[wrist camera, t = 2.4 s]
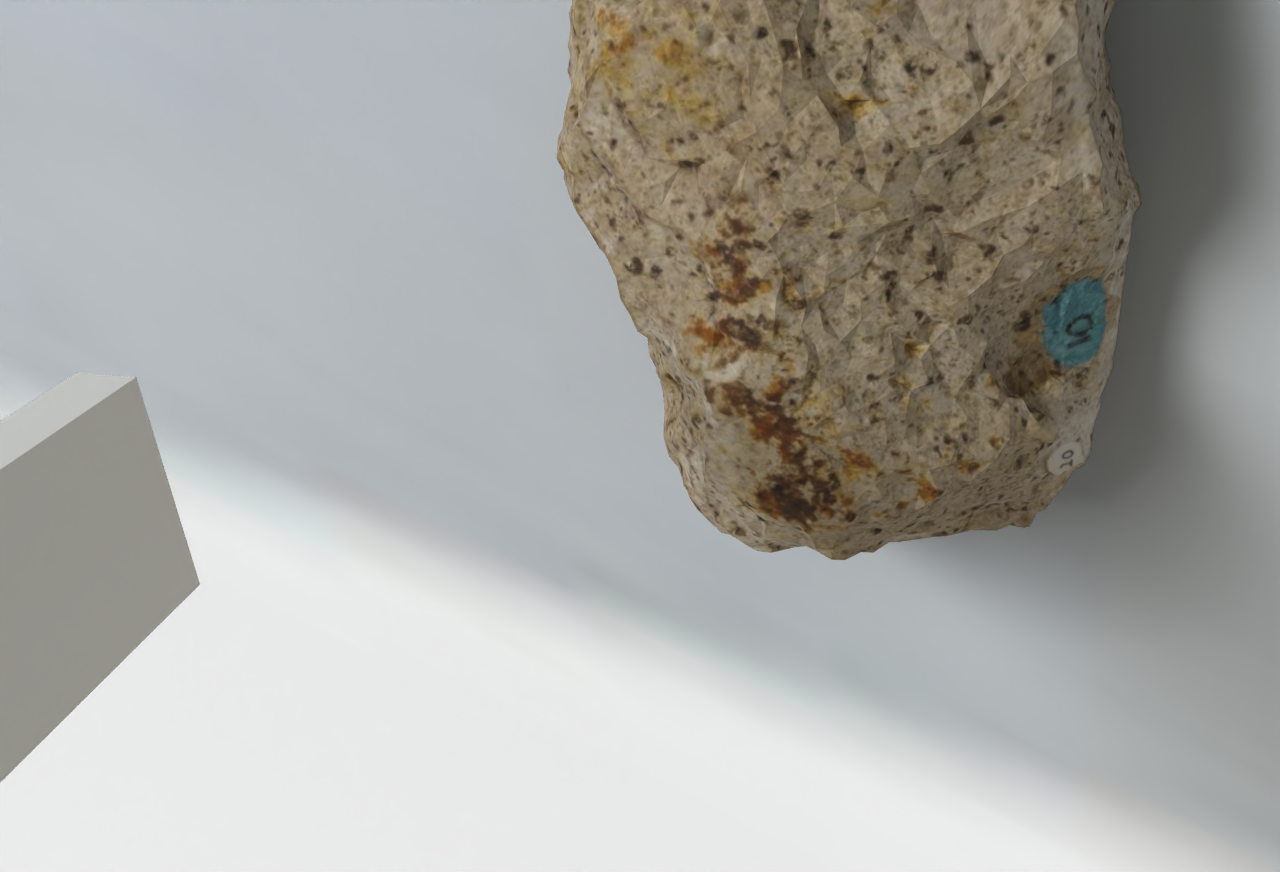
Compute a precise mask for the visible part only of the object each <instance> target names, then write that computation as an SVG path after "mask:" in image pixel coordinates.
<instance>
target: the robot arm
mask: <svg viewBox="0 0 1280 872" xmlns="http://www.w3.org/2000/svg"><path fill="white" fill-rule="evenodd" d="M199 585H200V583H199V580H198V577H197V573H196V570H195V567H194V564H193V560H192V557H191V554H190V551H189V547H188V544H187V541H186V538H185V534H184V531H183V528H182V525H181V521H180V518H179V515H178V512H177V508H176V505H175V502H174V499H173V495H172V492H171V489H170V486H169V482H168V479H167V476H166V473H165V469H164V466H163V463H162V460H161V456H160V453H159V450H158V447H157V443H156V440H155V437H154V434H153V430H152V427H151V424H150V421H149V417H148V414H147V411H146V408H145V404H144V401H143V398H142V395H141V391H140V388H139V385H138V382H137V378H136V377H127V376H114V375H102V374H89V373H76V374H74V375H73V376H71V377H69V378H68V379H66V380H65V381H63V382H61V383H60V384H58V385H57V386H55V387H54V388H52V389H50V390H49V391H47V392H46V393H44V394H42V395H41V396H39V397H38V398H36V399H35V400H33V401H31V402H30V403H28V404H27V405H25V406H23V407H22V408H20V409H19V410H17V411H16V412H14V413H12V414H11V415H9V416H8V417H6V418H4V419H3V420H1V421H0V782H1V781H2V780H3V779H4V778H5V777H6V776H7V775H8V774H9V773H10V772H11V771H12V770H13V769H14V768H15V767H16V766H17V765H18V764H19V763H20V762H21V761H22V760H23V759H24V758H25V757H26V756H27V755H28V754H29V753H30V752H31V751H32V750H33V749H34V748H35V747H36V746H37V745H38V744H39V743H40V742H41V741H42V740H44V739H45V738H46V737H47V736H48V735H49V734H50V733H51V732H52V731H53V730H54V729H55V728H56V727H57V726H58V725H59V724H60V723H61V722H62V721H63V720H64V719H65V718H66V717H67V716H68V715H69V714H70V713H71V712H72V711H73V710H74V709H75V708H76V707H77V706H78V705H79V704H80V703H81V702H82V701H83V700H84V699H85V698H86V697H87V696H88V695H89V694H90V693H91V692H92V691H93V690H94V689H95V688H96V687H97V686H98V685H99V684H100V683H101V682H102V681H103V680H104V679H105V678H106V677H107V676H108V675H109V674H110V673H111V672H112V671H113V670H114V669H115V668H116V667H117V666H118V665H119V664H120V663H121V662H122V661H123V660H124V659H125V658H126V657H127V656H128V655H129V654H130V653H131V652H132V651H133V650H134V649H135V648H136V647H137V646H138V645H139V644H140V643H141V642H142V641H143V640H144V639H145V638H146V637H147V636H148V635H149V634H150V633H151V632H152V631H153V630H154V629H155V628H156V627H157V626H158V625H159V624H160V623H161V622H162V621H163V620H164V619H165V618H166V617H167V616H168V615H169V614H170V613H171V612H172V611H173V610H174V609H175V608H176V607H177V606H179V605H180V604H181V603H182V602H183V601H184V600H185V599H186V598H187V597H188V596H189V595H190V594H191V593H192V592H193V591H194V590H195V589H196V588H197V587H198V586H199Z"/></svg>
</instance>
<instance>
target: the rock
mask: <svg viewBox="0 0 1280 872" xmlns="http://www.w3.org/2000/svg"><path fill="white" fill-rule="evenodd" d="M1115 4H1116V0H572V6H571V9H570V12H569V14H570V25H571V27H570V36H569V45H568V48H569V52H570V61H569V67H568V73H569V77H570V81H571V85H572V86H571V90H570V94H569V98H568V102H567V106H566V110H565V116H564V122H563V129H562V131H561V133H560V135H559V137H558V147H557V160H558V161H559V163H560V165H561V167H562V169H563V170H564V180H565V183H566V186H567V189H568V193H569V195H570V198H571V200H572V202H573V205H574V207H575V209H576V211H577V213H578V215H579V216H580V218H581V219H582V221H583V222H584V224H585V225H586V227H587V228H588V230H589V231H590V233H591V234H592V236H593V238H594V239H595V241H596V243H597V245H598V246H599V248H600V249H601V250H602V251H603V253H604V254H605V255H606V257H607V259H608V261H609V263H610V265H611V267H612V270H613V272H614V274H615V276H616V279H617V284H618V289H619V293H620V298H621V300H622V302H623V304H624V305H625V307H626V309H627V310H628V312H629V314H630V316H631V318H632V320H633V322H634V324H635V326H636V329H637V331H638V332H640V333H641V334H643V335H644V336H646V337H647V338H649V339H648V345H649V353H650V357H651V359H652V361H653V363H654V365H655V366H656V372H657V374H658V377H659V379H660V381H661V385H662V389H663V397H664V409H665V416H664V440H665V443H666V447H667V450H668V454H669V457H670V458H671V459H672V460H673V461H674V463H675V464H676V465H677V466H678V468H679V470H680V473H681V476H682V478H683V483H684V486H685V487H686V489H687V491H688V494H689V496H690V499H691V500H692V502H693V503H694V505H695V506H696V507H697V509H698V510H699V511H700V512H701V513H702V514H703V515H704V516H705V517H706V518H707V519H708V520H709V521H710V522H711V523H712V524H713V525H714V526H715V527H716V528H717V529H718V530H719V531H720V532H721V533H725V534H730V535H732V536H733V537H735V538H736V539H738V540H739V541H741V542H743V543H744V544H746V545H748V546H749V547H751V548H753V549H755V550H757V551H763V552H776V551H780V550H784V549H789V548H793V547H800V546H807V547H809V548H812V549H814V550H816V551H818V552H820V553H821V554H823V555H825V556H826V557H828V558H829V559H832V560H846V559H848V558H850V557H852V556H854V555H856V554H858V553H860V552H875V551H876V550H878V549H879V548H881V547H882V546H884V545H885V544H887V543H888V542H900V541H907V540H914V539H921V538H928V537H935V536H948V535H952V534H956V533H960V532H964V531H969V530H998V529H1001V528H1003V527H1006V526H1009V525H1014V526H1019V527H1024V528H1025V527H1029V526H1030V524H1031V522H1032V520H1033V518H1034V517H1035V515H1036V513H1037V512H1039V511H1041V510H1043V509H1045V508H1046V507H1047V506H1048V504H1049V503H1050V502H1051V500H1052V499H1053V498H1054V497H1055V496H1056V495H1057V493H1058V492H1059V491H1060V490H1061V489H1062V488H1063V486H1064V485H1065V483H1066V481H1067V480H1068V478H1069V477H1070V475H1071V474H1072V472H1073V470H1074V469H1075V468H1078V467H1081V466H1084V464H1085V462H1086V460H1087V458H1088V457H1089V455H1090V453H1091V450H1092V434H1093V426H1094V423H1095V420H1096V418H1097V415H1098V413H1099V410H1100V408H1101V394H1102V392H1103V389H1104V387H1105V384H1106V382H1107V380H1108V377H1109V375H1110V373H1111V371H1112V368H1113V357H1114V352H1115V346H1116V341H1117V335H1118V327H1119V319H1120V311H1121V302H1122V292H1123V285H1124V279H1125V274H1126V258H1127V255H1128V251H1129V245H1130V237H1131V226H1132V221H1133V216H1134V213H1135V211H1136V210H1137V209H1138V208H1139V206H1140V205H1141V204H1142V203H1141V198H1140V193H1139V187H1138V184H1137V183H1136V181H1135V179H1134V178H1133V176H1132V175H1131V173H1130V171H1129V166H1128V162H1127V158H1126V152H1125V146H1124V138H1123V128H1122V120H1121V112H1120V108H1119V106H1118V104H1117V101H1116V99H1115V95H1114V91H1113V89H1112V87H1111V86H1110V84H1109V79H1110V70H1111V63H1110V59H1109V57H1108V55H1107V53H1106V44H1105V31H1106V27H1107V24H1108V21H1109V16H1110V14H1111V12H1112V10H1113V8H1114V6H1115Z"/></svg>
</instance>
